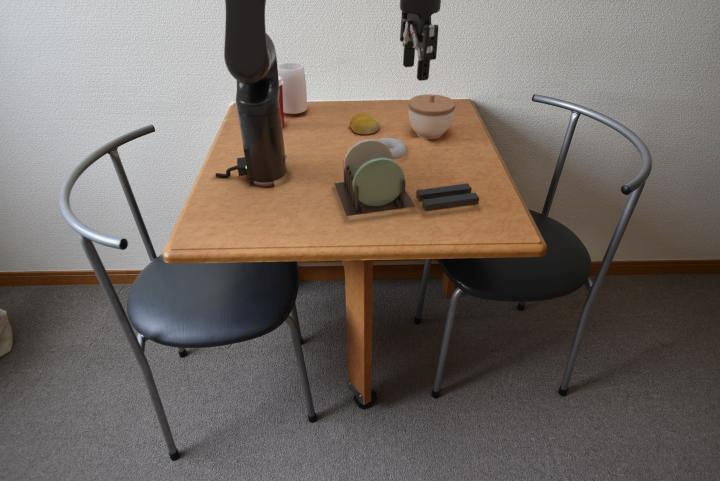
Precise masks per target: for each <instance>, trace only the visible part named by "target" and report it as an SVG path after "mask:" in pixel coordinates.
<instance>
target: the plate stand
mask: <svg viewBox="0 0 720 481" xmlns="http://www.w3.org/2000/svg"><path fill="white" fill-rule="evenodd" d="M472 190H473V188H472V186H471V185H470V184H469V183H461V184H453V185H445V186H437V187H429V188H422V189H416V192H415V193H416V194H415V197H416V198H417V200H418V201H419V202H422V205H421V207H422V208H423V210H424V211H425V212H429V211H436V210H443V209H451V208H458V207H464V206H465V207H466V206H473V205H478V204H479V203H480V196H479V195H478V194H477V192H472Z"/></svg>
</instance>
